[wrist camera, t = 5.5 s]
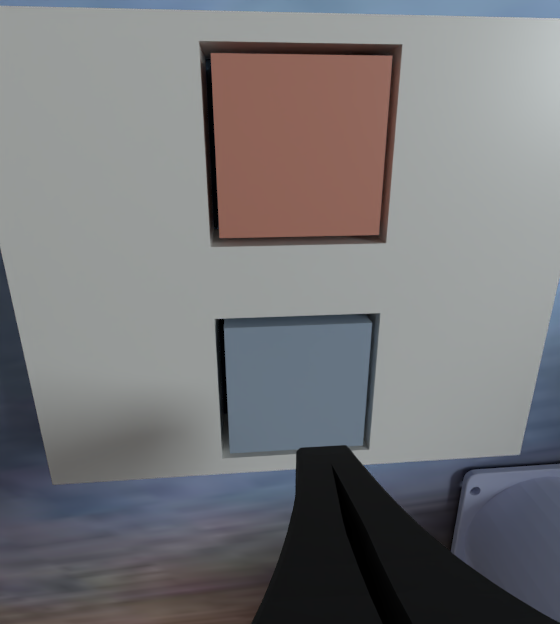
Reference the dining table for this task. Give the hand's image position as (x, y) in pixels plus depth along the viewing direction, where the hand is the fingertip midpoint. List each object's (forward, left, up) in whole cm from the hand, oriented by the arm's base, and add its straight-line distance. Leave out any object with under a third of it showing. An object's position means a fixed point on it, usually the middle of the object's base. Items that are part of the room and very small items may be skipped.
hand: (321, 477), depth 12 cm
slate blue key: (0, 0, -7) cm, 7 cm away
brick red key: (+8, 0, -7) cm, 11 cm away
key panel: (+4, 0, -8) cm, 9 cm away
